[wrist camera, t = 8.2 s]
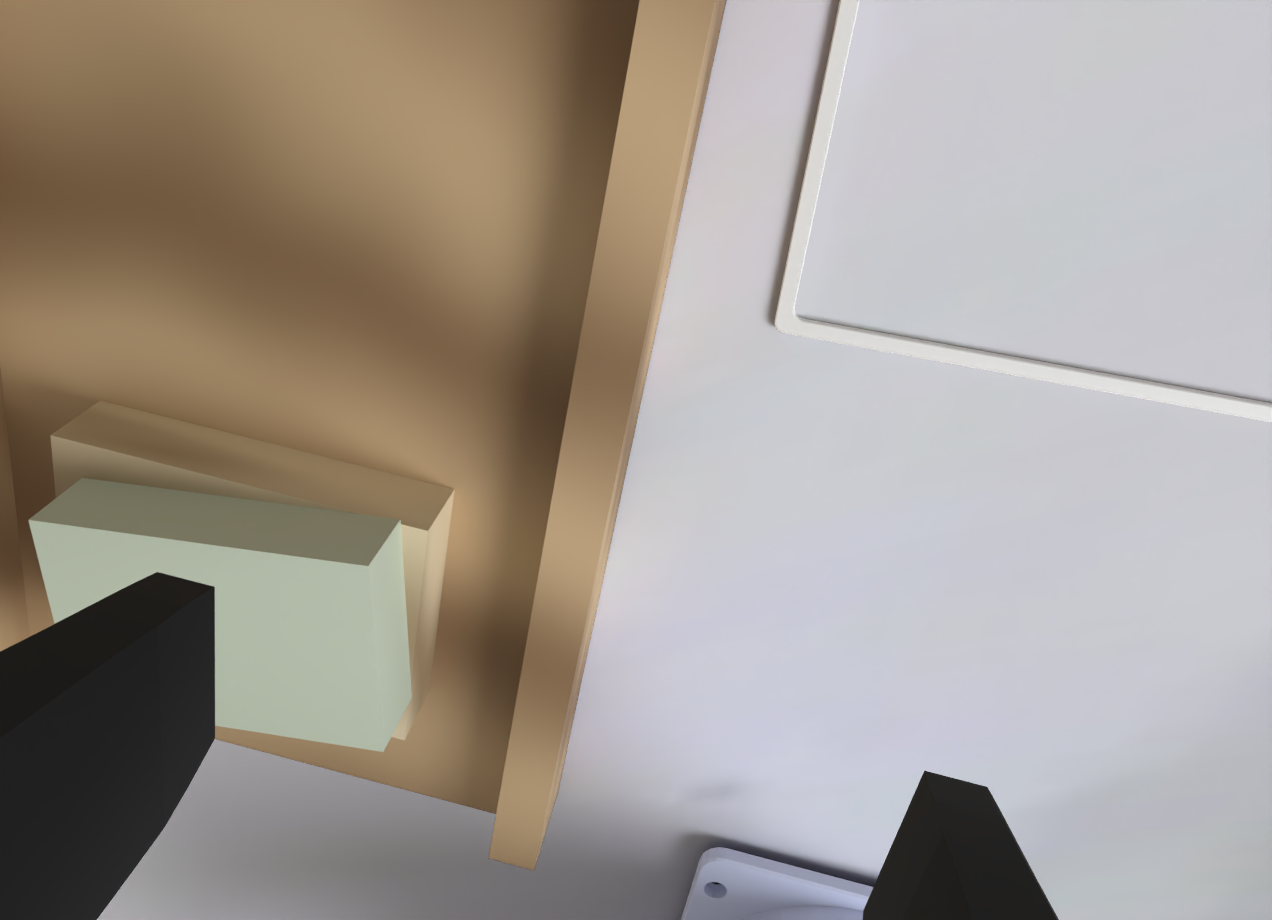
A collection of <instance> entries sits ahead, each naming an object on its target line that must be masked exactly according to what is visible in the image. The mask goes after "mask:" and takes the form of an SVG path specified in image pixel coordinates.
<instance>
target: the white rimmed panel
mask: <svg viewBox="0 0 1272 920" xmlns="http://www.w3.org/2000/svg"><path fill="white" fill-rule="evenodd" d="M859 1H860V0H840V1H839V6H838V11H837V16H836V21H835V25H834V30H833V35H832V40H831V45H830V50H829V55H828V60H827V65H826V70H825V74H824V79H823V84H822V89H821V94H820V99H819V104H818V109H817V114H816V118H815V123H814V128H813V133H812V138H811V143H810V148H809V153H808V158H807V163H806V167H805V172H804V177H803V182H802V187H801V192H800V197H799V202H798V207H797V211H796V216H795V221H794V226H793V231H792V236H791V241H790V246H789V251H788V256H787V260H786V265H785V270H784V275H783V280H782V285H781V290H780V295H779V300H778V304H777V309H776V314H775V320H774V325H775V327H776V329H777V330H778V331H779V332H781V333H785V334H790V335H796V336H801V337H807V338H812V339H817V340H823V341H828V342H834V343H839V344H845V345H850V346H856V347H861V348H867V349H872V350H878V351H883V352H889V353H894V354H900V355H905V356H911V357H916V358H922V359H927V360H933V361H938V362H944V363H949V364H955V365H960V366H965V367H971V368H976V369H982V370H987V371H993V372H998V373H1004V374H1009V375H1015V376H1020V377H1026V378H1031V379H1037V380H1042V381H1048V382H1053V383H1059V384H1064V385H1070V386H1075V387H1081V388H1086V389H1092V390H1097V391H1103V392H1108V393H1114V394H1119V395H1124V396H1130V397H1135V398H1141V399H1146V400H1152V401H1157V402H1163V403H1168V404H1174V405H1179V406H1185V407H1190V408H1196V409H1201V410H1207V411H1212V412H1218V413H1223V414H1229V415H1234V416H1240V417H1245V418H1251V419H1256V420H1262V421H1267V422H1272V403H1268V402H1263V401H1257V400H1252V399H1246V398H1241V397H1235V396H1229V395H1224V394H1218V393H1213V392H1207V391H1202V390H1196V389H1191V388H1185V387H1180V386H1174V385H1169V384H1163V383H1158V382H1152V381H1147V380H1141V379H1136V378H1130V377H1124V376H1119V375H1113V374H1108V373H1102V372H1097V371H1091V370H1086V369H1080V368H1075V367H1069V366H1064V365H1058V364H1053V363H1047V362H1042V361H1036V360H1031V359H1025V358H1019V357H1014V356H1008V355H1003V354H997V353H992V352H986V351H981V350H975V349H970V348H964V347H959V346H953V345H948V344H942V343H937V342H931V341H926V340H920V339H915V338H909V337H903V336H898V335H892V334H887V333H881V332H876V331H870V330H865V329H859V328H854V327H848V326H843V325H837V324H832V323H826V322H821V321H815V320H810V319H804V318H801V317H799V316H798V315H797V314H796V312H795V310H794V307H795V302H796V298H797V293H798V288H799V283H800V279H801V274H802V269H803V265H804V260H805V255H806V251H807V246H808V241H809V236H810V232H811V227H812V222H813V218H814V213H815V208H816V203H817V199H818V194H819V189H820V185H821V180H822V175H823V171H824V166H825V161H826V156H827V152H828V147H829V142H830V138H831V133H832V128H833V123H834V119H835V114H836V109H837V105H838V100H839V95H840V91H841V86H842V81H843V76H844V72H845V67H846V62H847V58H848V53H849V48H850V43H851V39H852V34H853V29H854V25H855V20H856V15H857V11H858V6H859Z"/></svg>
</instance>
